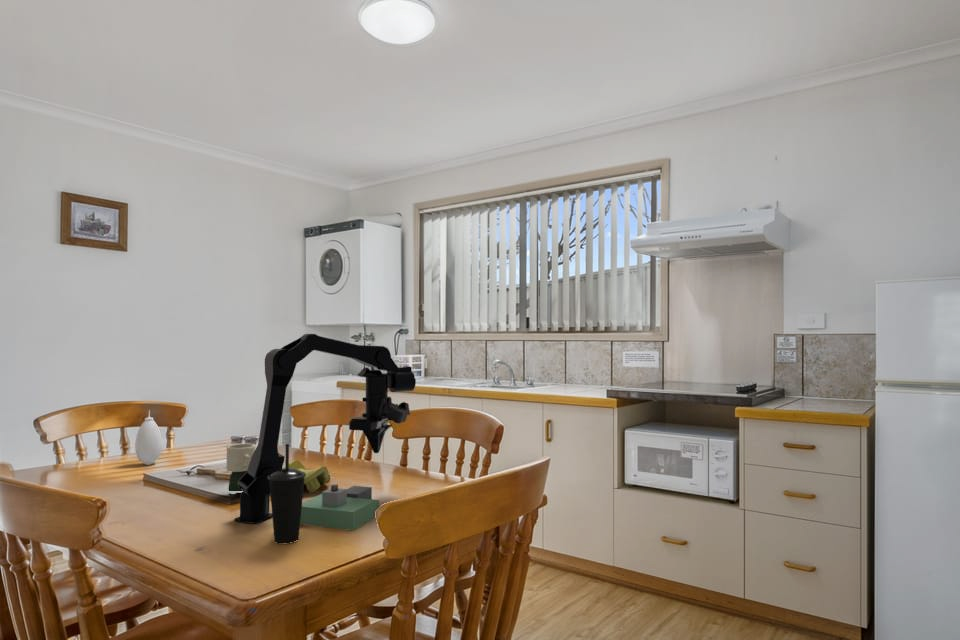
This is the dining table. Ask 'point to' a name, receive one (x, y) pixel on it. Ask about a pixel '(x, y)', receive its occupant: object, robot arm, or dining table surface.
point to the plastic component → (311, 475)
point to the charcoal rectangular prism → (360, 492)
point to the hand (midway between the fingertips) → (376, 452)
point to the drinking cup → (286, 501)
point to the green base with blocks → (337, 510)
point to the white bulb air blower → (148, 442)
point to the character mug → (238, 462)
